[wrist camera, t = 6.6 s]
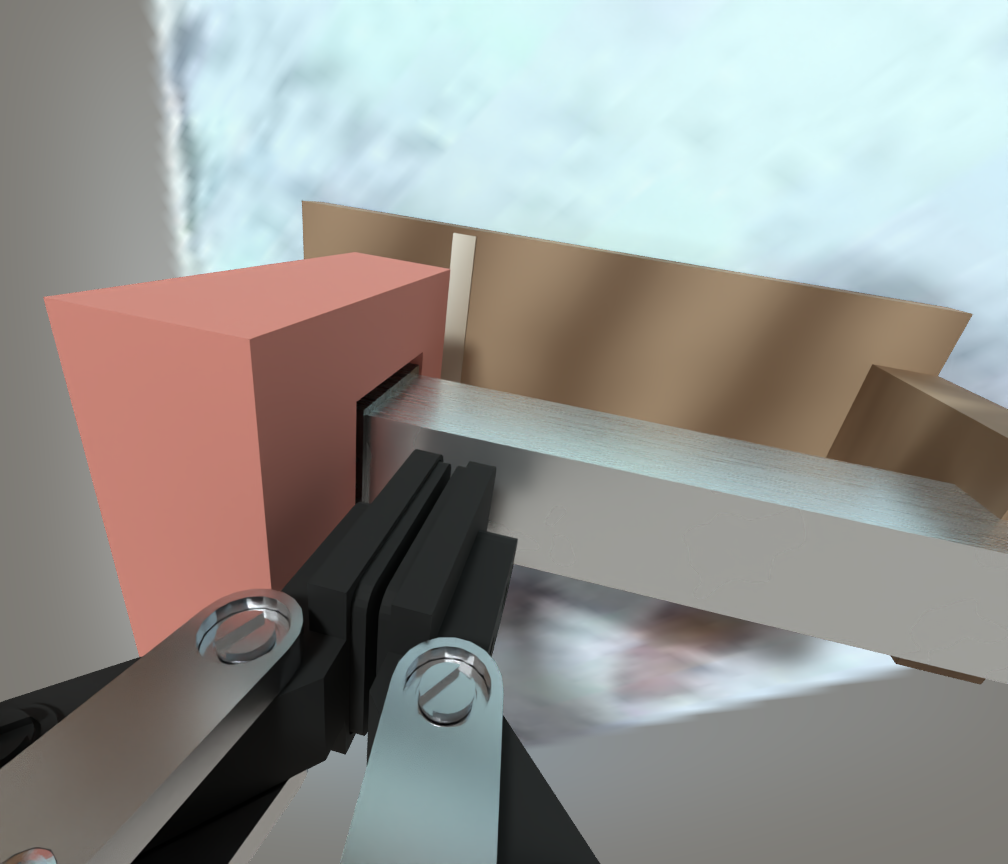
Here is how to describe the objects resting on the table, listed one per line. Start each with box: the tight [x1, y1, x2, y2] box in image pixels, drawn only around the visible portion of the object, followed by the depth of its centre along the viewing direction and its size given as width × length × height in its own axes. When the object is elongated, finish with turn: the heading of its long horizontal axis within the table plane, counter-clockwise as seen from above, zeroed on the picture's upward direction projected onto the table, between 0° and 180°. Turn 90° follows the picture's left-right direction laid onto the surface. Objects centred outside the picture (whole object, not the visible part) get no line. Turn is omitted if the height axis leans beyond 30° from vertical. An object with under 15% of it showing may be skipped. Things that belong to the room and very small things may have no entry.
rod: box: [355, 363, 1008, 684], centre depth 12 cm, size 22×3×3 cm, turn 81°
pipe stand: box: [302, 201, 1008, 684], centre depth 15 cm, size 22×10×8 cm, turn 81°
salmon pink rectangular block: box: [44, 252, 451, 657], centre depth 12 cm, size 3×8×9 cm, turn 171°
